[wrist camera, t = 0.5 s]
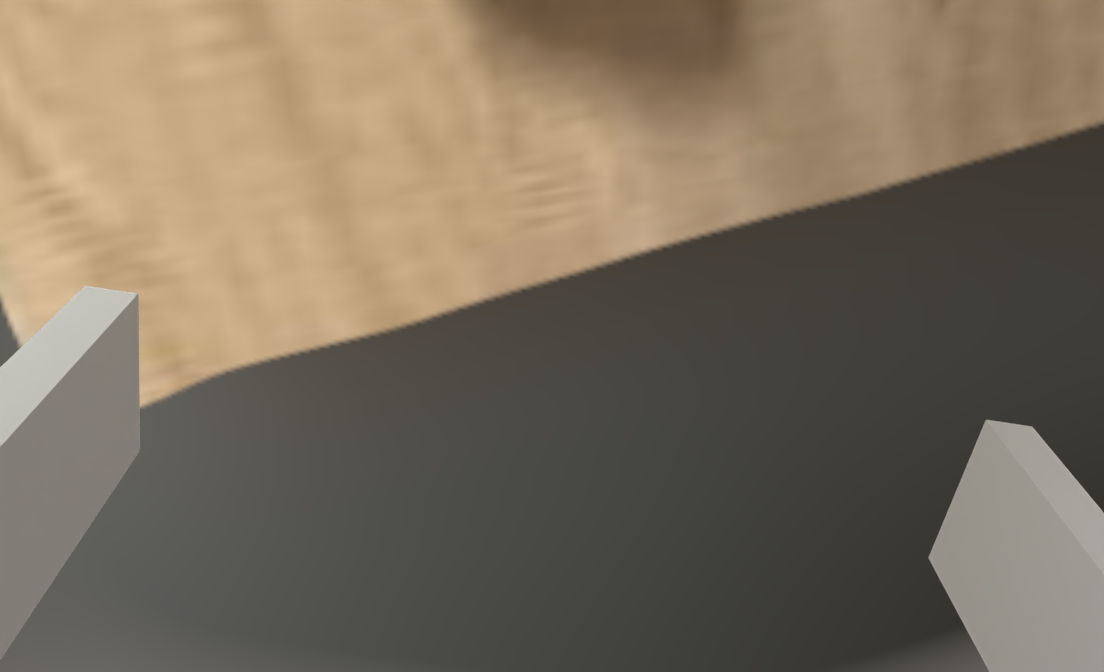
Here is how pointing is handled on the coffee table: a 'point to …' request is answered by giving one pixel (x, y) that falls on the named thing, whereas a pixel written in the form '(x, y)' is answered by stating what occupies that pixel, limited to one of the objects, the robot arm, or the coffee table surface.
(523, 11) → the coffee table surface
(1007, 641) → the robot arm
